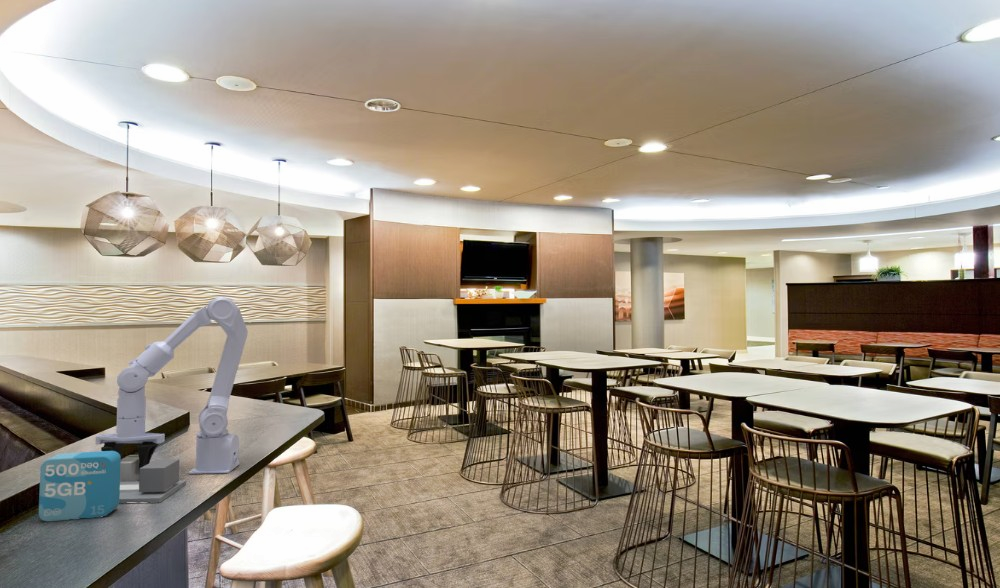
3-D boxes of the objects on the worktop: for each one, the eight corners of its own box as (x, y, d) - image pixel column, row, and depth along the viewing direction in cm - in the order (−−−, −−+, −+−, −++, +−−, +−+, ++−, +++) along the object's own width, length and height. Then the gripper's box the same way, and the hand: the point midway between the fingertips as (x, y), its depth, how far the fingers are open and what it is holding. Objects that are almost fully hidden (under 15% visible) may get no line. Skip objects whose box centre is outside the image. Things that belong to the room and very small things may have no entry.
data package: (37, 522, 104) (40, 459, 104) (50, 514, 108) (52, 453, 109) (109, 517, 107) (112, 455, 107) (119, 509, 111) (121, 450, 112)
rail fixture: (185, 484, 127) (186, 456, 127) (159, 502, 115) (160, 471, 115) (93, 486, 125) (94, 457, 125) (57, 505, 113) (58, 473, 113)
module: (146, 475, 134) (146, 454, 134) (130, 484, 127) (130, 462, 127) (128, 476, 133) (129, 454, 133) (111, 485, 126) (112, 462, 126)
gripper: (171, 413, 135) (169, 468, 135) (108, 413, 134) (107, 469, 133) (156, 418, 128) (155, 476, 128) (90, 419, 127) (88, 478, 126)
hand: (129, 473), depth 130 cm, fingers open, 5 cm apart
